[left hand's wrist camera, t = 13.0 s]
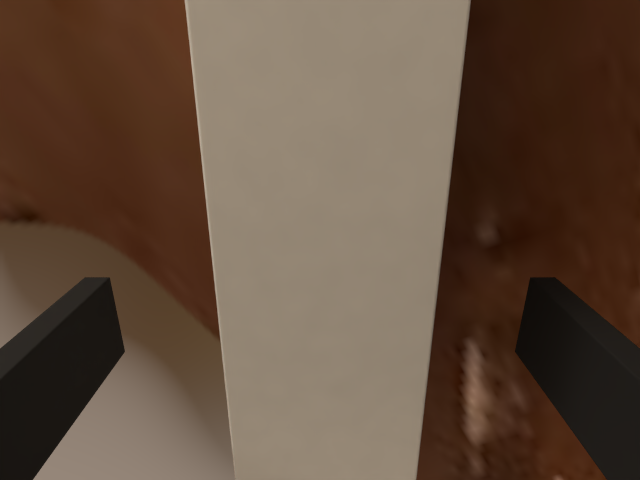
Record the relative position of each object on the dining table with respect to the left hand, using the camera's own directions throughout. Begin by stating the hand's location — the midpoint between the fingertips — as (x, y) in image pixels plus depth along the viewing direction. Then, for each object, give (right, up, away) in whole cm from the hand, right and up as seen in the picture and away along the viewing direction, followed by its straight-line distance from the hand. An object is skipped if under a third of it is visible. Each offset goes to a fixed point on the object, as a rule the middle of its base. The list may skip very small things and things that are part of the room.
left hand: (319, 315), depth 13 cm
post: (0, +33, -9) cm, 35 cm away
